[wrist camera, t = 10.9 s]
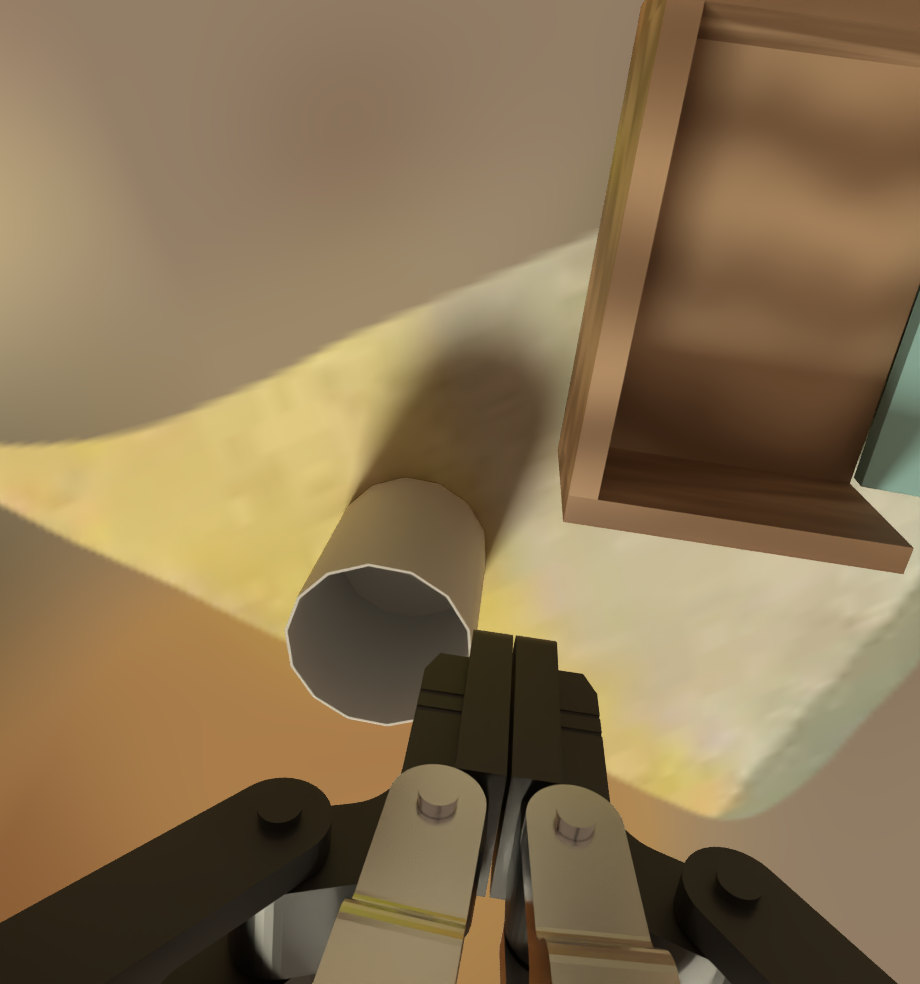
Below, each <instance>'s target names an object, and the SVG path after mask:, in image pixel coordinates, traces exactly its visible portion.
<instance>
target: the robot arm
mask: <svg viewBox="0 0 920 984" xmlns="http://www.w3.org/2000/svg"><path fill="white" fill-rule="evenodd" d="M512 652H513V653H512ZM599 716H600V715H599V706H598V698H597V693H596V692H595V691H594V689H593V688H592V686H591V685H590V683H589V682H588V681H587V679H586V678H585V676H584V675H583V674H579V673H573V672H566V671H559V670H558V654H557V642H556V641H550V640H543V639H536V638H530V637H523V636H516V638H515V642H514V648H513V635H508V634H502V633H495V632H488V631H481V630H475V629H473V636H472V642H471V649H470V656H469V657H465V656H458V655H451V654H445V653H440V654H439V655H438V656H437V657H436V658H435V659H434V660H433V661H432V662H431V663H430V664H429V665H428V666H427V667H426V668H425V670H424V674H423V679H422V683H421V688H420V692H419V697H418V701H417V707H416V710H415V715H414V719H413V724H412V728H411V733H410V737H409V742H408V747H407V751H406V756H405V760H404V765H403V769H402V772H401V775H399V776H398V777H397V778H396V780H395V781H394V782H393V783H392V786H391V788H390V789H388V790H387V791H386V792H384V793H383V794H381V795H379V796H377V797H375V798H373V799H370V800H367V801H364V802H358V803H352V804H343V805H334V806H331V805H330V802H329V800H328V798H327V797H326V795H325V794H324V793H323V792H322V791H321V790H320V789H318V788H317V787H316V786H314V785H312V784H310V783H308V782H305V781H302V780H299V779H294V778H274V779H268V780H264V781H261V782H258V783H256V784H254V785H252V786H250V787H248V788H246V789H244V790H242V791H240V792H239V793H237V794H235V795H233V796H231V797H230V798H228V799H226V800H224V801H222V802H220V803H218V804H217V805H215V806H213V807H211V808H210V809H207V810H206V811H204V812H202V813H200V814H198V815H197V816H195V817H193V818H191V819H189V820H188V821H186V822H184V823H182V824H180V825H178V826H177V827H175V828H173V829H171V830H169V831H167V832H166V833H164V834H162V835H160V836H158V837H156V838H154V839H153V840H151V841H149V842H147V843H145V844H144V845H142V846H140V847H138V848H136V849H134V850H133V851H131V852H129V853H127V854H125V855H123V856H122V857H120V858H118V859H117V860H115V861H113V862H111V863H109V864H107V865H105V866H103V867H102V868H100V869H98V870H96V871H94V872H92V873H91V874H89V875H87V876H85V877H83V878H81V879H80V880H78V881H76V882H74V883H72V884H70V885H69V886H67V887H65V888H63V889H61V890H59V891H58V892H56V893H54V894H52V895H50V896H49V897H47V898H45V899H43V900H41V901H39V902H38V903H36V904H34V905H32V906H31V907H28V908H27V909H25V910H23V911H21V912H19V913H17V914H16V915H14V916H12V917H10V918H8V919H7V920H5V921H3V922H1V923H0V984H312V983H313V984H456V983H457V978H458V972H459V966H460V961H461V955H462V949H463V943H464V938H465V936H466V935H467V933H468V932H469V929H470V927H471V923H472V917H473V911H474V906H475V900H476V896H483V897H485V895H486V889H487V884H488V878H489V873H490V867H491V861H492V867H491V883H490V897H491V898H497V899H503V900H505V921H504V927H503V932H502V937H501V942H500V949H499V959H500V984H897V983H896V982H895V981H894V980H893V979H892V978H891V977H889V976H888V975H887V974H886V973H885V972H884V971H883V970H882V969H881V968H879V967H878V966H877V965H876V964H875V963H874V962H873V961H872V960H870V959H869V958H868V957H867V956H866V955H865V954H864V953H863V952H861V951H860V950H859V949H858V948H857V947H856V946H855V945H854V944H852V943H851V942H850V941H849V940H848V939H847V938H846V937H845V936H844V935H842V934H841V933H840V932H839V931H838V930H837V929H836V928H835V927H833V926H832V925H831V924H830V923H829V922H828V921H827V920H826V919H824V918H823V917H822V916H821V915H820V914H819V913H818V912H817V911H815V910H814V909H813V908H812V907H811V906H810V905H809V904H807V903H806V902H805V901H804V900H803V899H802V898H801V897H800V896H798V895H797V894H796V893H795V892H794V891H793V890H792V889H791V888H790V887H788V886H787V885H786V884H785V883H784V882H783V881H782V880H781V879H779V878H778V877H777V876H776V875H775V874H774V873H773V872H772V871H770V870H769V869H768V868H767V867H766V866H764V865H763V864H762V863H760V862H759V861H757V860H755V859H754V858H752V857H750V856H748V855H746V854H744V853H742V852H739V851H736V850H732V849H729V848H722V847H708V848H703V849H700V850H698V851H695V852H694V853H693V854H691V855H690V856H689V857H688V859H687V860H686V862H685V863H683V862H681V861H678V860H677V859H674V858H672V857H670V856H667V855H665V854H663V853H660V852H658V851H656V850H654V849H652V848H650V847H647V846H646V845H644V844H643V843H641V842H639V841H638V840H637V839H635V838H634V837H633V836H632V835H630V834H629V833H628V832H627V831H626V830H625V827H624V824H623V821H622V818H621V817H620V815H619V813H618V812H617V810H616V809H615V808H614V806H613V805H612V804H611V803H610V798H609V790H608V782H607V773H606V765H605V756H604V748H603V740H602V737H601V733H602V731H601V723H600V719H599Z"/></svg>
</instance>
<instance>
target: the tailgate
mask: <svg viewBox="0 0 920 984" xmlns="http://www.w3.org/2000/svg"><path fill="white" fill-rule="evenodd" d="M854 478H855V479H856V481H857V482H858V483H859V484H860V486H862V487H867V488H873V489H879V490H884V491H890V492H896V493H901V494H907V495H912V496H918V497H920V291H919V294H918V296H917V299H916V302H915V305H914V308H913V311H912V314H911V316H910V319H909V322H908V325H907V328H906V331H905V333H904V336H903V339H902V342H901V345H900V348H899V351H898V353H897V356H896V359H895V362H894V365H893V368H892V370H891V373H890V376H889V379H888V382H887V385H886V388H885V390H884V393H883V396H882V399H881V402H880V405H879V407H878V410H877V413H876V416H875V419H874V422H873V425H872V427H871V430H870V433H869V436H868V439H867V442H866V444H865V447H864V450H863V453H862V456H861V459H860V462H859V464H858V467H857V470H856V473H855V476H854Z"/></svg>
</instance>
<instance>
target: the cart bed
mask: <svg viewBox="0 0 920 984" xmlns="http://www.w3.org/2000/svg"><path fill="white" fill-rule="evenodd" d="M919 284H920V0H645V1H644V2H643V4H642V6H641V10H640V15H639V20H638V26H637V31H636V36H635V42H634V47H633V52H632V58H631V63H630V68H629V74H628V79H627V84H626V90H625V95H624V101H623V106H622V111H621V116H620V122H619V127H618V132H617V137H616V143H615V148H614V154H613V159H612V164H611V169H610V175H609V180H608V186H607V191H606V196H605V201H604V207H603V212H602V218H601V223H600V228H599V233H598V239H597V244H596V249H595V255H594V260H593V265H592V271H591V276H590V281H589V287H588V292H587V297H586V303H585V308H584V313H583V318H582V324H581V329H580V334H579V340H578V345H577V350H576V356H575V361H574V366H573V372H572V377H571V382H570V388H569V393H568V398H567V404H566V409H565V414H564V420H563V425H562V430H561V436H560V441H559V446H558V458H559V471H560V485H561V498H562V512H563V522H568V523H575V524H581V525H588V526H594V527H601V528H607V529H614V530H620V531H627V532H633V533H640V534H646V535H653V536H659V537H666V538H672V539H679V540H685V541H692V542H698V543H705V544H711V545H718V546H724V547H731V548H737V549H744V550H750V551H757V552H763V553H770V554H776V555H783V556H789V557H796V558H802V559H809V560H815V561H822V562H828V563H835V564H841V565H848V566H854V567H861V568H867V569H874V570H880V571H887V572H893V573H900V574H904V571H905V569H906V566H907V564H908V561H909V559H910V556H911V554H912V551H913V547H912V546H911V545H910V544H909V543H908V542H907V541H906V540H905V539H904V538H903V537H902V536H901V535H900V534H899V533H898V532H897V531H896V530H895V529H894V528H893V527H892V526H891V525H890V524H889V523H888V522H887V521H886V520H885V519H884V518H883V517H882V516H881V515H880V514H879V513H878V512H877V511H876V510H875V509H874V508H873V506H872V505H871V504H870V503H869V502H868V501H867V500H866V499H865V498H864V497H863V496H862V495H861V494H860V493H859V492H858V491H857V490H856V489H855V488H854V487H853V486H852V485H851V484H850V481H851V478H852V476H853V473H854V470H855V467H856V464H857V461H858V458H859V456H860V453H861V450H862V447H863V444H864V441H865V438H866V436H867V433H868V430H869V427H870V424H871V421H872V418H873V416H874V413H875V410H876V407H877V404H878V401H879V398H880V396H881V393H882V390H883V387H884V384H885V381H886V378H887V376H888V373H889V370H890V367H891V364H892V361H893V358H894V356H895V353H896V350H897V347H898V344H899V341H900V339H901V336H902V333H903V330H904V327H905V324H906V321H907V319H908V316H909V313H910V310H911V307H912V304H913V301H914V299H915V296H916V293H917V290H918V287H919Z"/></svg>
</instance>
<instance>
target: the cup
mask: <svg viewBox="0 0 920 984" xmlns="http://www.w3.org/2000/svg"><path fill="white" fill-rule="evenodd" d="M485 565H486V554H485V535H484V530H483V528H482V526H481V525H480V523H479V521H478V520H477V518H476V516H475V515H474V513H473V511H472V509H471V508H470V506H469V504H468V503H467V502H465V501H464V500H463V499H461V498H460V497H458V496H457V495H455V494H454V493H452V492H451V491H449V490H448V489H446V488H445V487H444V486H442V485H441V484H439V483H434V482H428V481H423V480H418V479H412V478H407V477H404V478H400V479H395V480H391V481H387V482H383V483H379V484H375V485H372V486H371V487H370V488H368V489H367V490H366V491H365V492H364V493H363V494H361V495H360V496H359V497H358V498H357V499H355V500H354V501H353V502H352V503H351V504H350V505H348V507H347V509H346V511H345V512H344V514H343V516H342V518H341V520H340V521H339V523H338V525H337V527H336V529H335V530H334V532H333V534H332V536H331V538H330V539H329V541H328V543H327V545H326V547H325V548H324V550H323V552H322V554H321V555H320V557H319V559H318V561H317V563H316V564H315V566H314V568H313V570H312V572H311V573H310V575H309V577H308V579H307V581H306V582H305V584H304V586H303V588H302V590H301V591H300V593H299V595H298V597H297V599H296V602H295V605H294V607H293V610H292V613H291V615H290V618H289V621H288V623H287V626H286V629H285V635H286V641H287V647H288V653H289V659H290V665H291V667H292V669H293V670H294V672H295V673H296V674H297V676H298V677H299V678H300V680H301V681H302V683H303V684H304V685H305V687H306V688H307V689H308V691H309V692H310V694H311V695H312V696H313V698H315V699H317V700H318V701H320V702H322V703H323V704H325V705H326V706H328V707H330V708H331V709H333V710H335V711H336V712H338V713H340V714H341V715H343V716H344V717H346V718H347V719H353V720H357V721H363V722H368V723H373V724H378V725H383V726H391V725H397V724H403V723H408V722H413V719H414V715H415V710H416V707H417V701H418V697H419V692H420V688H421V683H422V679H423V674H424V670H425V668H426V667H427V666H428V665H429V664H430V663H431V662H432V661H433V660H434V659H435V658H436V657H437V656H438V655H439V654H440V653H445V654H451V655H458V656H465V657H469V656H470V649H471V642H472V636H473V629H475V630H477V627H478V619H479V611H480V604H481V596H482V588H483V580H484V573H485Z"/></svg>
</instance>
